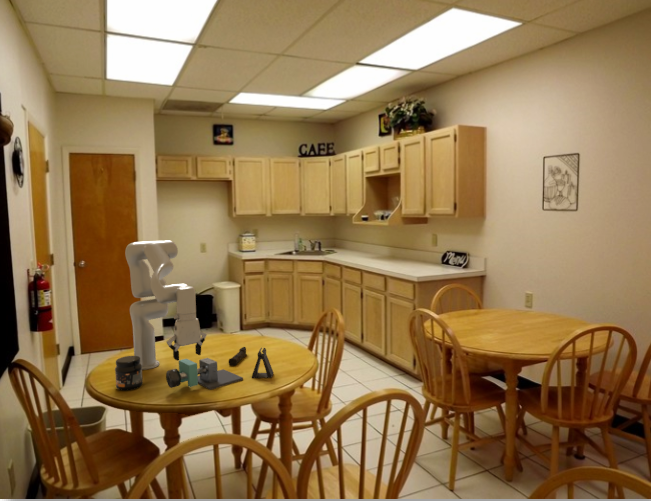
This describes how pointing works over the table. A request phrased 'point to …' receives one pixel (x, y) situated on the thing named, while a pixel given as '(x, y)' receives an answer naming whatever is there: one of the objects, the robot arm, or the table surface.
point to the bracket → (209, 370)
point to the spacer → (189, 371)
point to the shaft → (179, 376)
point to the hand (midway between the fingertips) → (187, 357)
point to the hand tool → (237, 357)
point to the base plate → (221, 380)
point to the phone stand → (266, 363)
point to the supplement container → (128, 373)
